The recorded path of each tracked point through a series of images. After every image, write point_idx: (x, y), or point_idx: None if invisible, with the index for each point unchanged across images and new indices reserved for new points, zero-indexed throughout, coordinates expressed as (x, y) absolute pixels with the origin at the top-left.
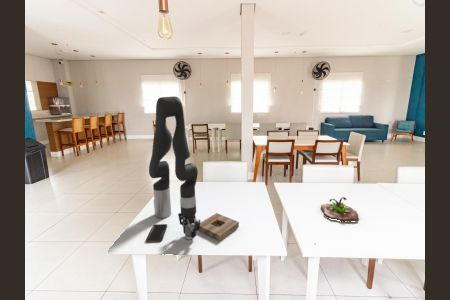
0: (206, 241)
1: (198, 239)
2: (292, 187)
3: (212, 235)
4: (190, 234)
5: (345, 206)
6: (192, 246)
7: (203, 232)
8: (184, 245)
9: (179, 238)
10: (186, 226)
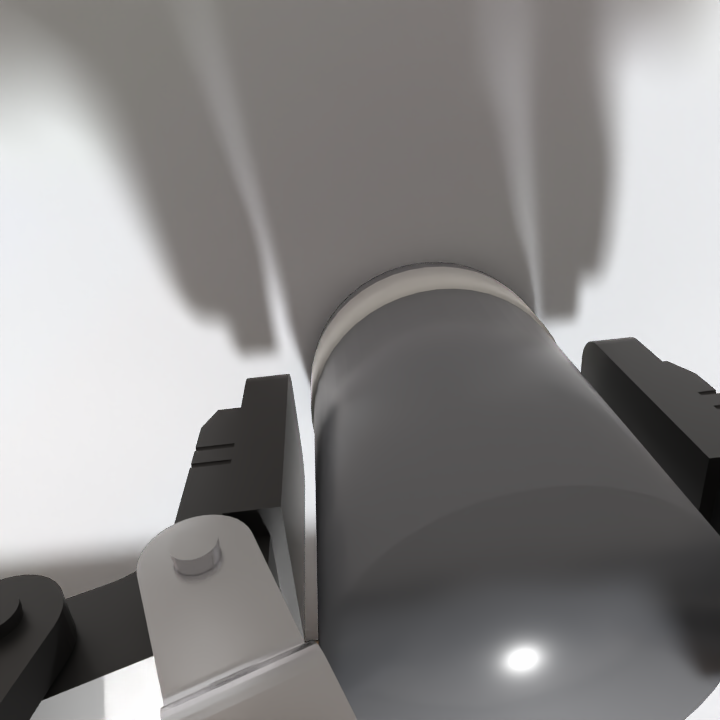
0: (10, 533)
1: None
2: None
3: None
4: (327, 410)
5: None
6: (32, 188)
7: None
8: (231, 42)
9: (619, 150)
10: (608, 558)
